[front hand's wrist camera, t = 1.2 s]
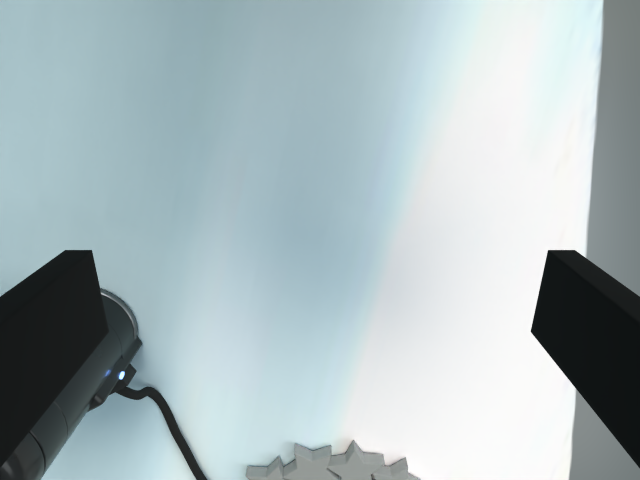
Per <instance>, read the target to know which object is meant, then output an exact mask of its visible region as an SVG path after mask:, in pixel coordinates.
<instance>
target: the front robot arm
mask: <svg viewBox="0 0 640 480" xmlns="http://www.w3.org/2000/svg"><path fill="white" fill-rule="evenodd" d="M108 333H109V328H108V324H107V319H106V314H105V310H104V305H103V300H102V296H101V291H100V286H99V281H98V277H97V272H96V267H95V263H94V258H93V253H92V250H65V251H63V252H62V253H61V254H59V255H58V256H56V257H55V258H54V259H52V260H51V261H49V262H48V263H47V264H45V265H44V266H43V267H41V268H40V269H38V270H37V271H36V272H34V273H33V274H31V275H30V276H29V277H27V278H26V279H24V280H23V281H22V282H20V283H19V284H17V285H16V286H15V287H13V288H12V289H10V290H9V291H8V292H6V293H5V294H3V295H2V296H1V297H0V468H1V467H2V465H3V464H4V463H5V462H6V460H7V459H8V458H9V457H10V455H11V454H12V453H13V452H14V450H15V449H16V448H17V447H18V445H19V444H20V443H21V442H22V440H23V439H24V438H25V437H26V435H27V434H28V433H29V432H30V430H31V429H32V428H33V427H34V425H35V424H36V423H37V422H38V420H39V419H40V418H41V417H42V415H43V414H44V413H45V412H46V410H47V409H48V408H49V407H50V405H51V404H52V403H53V401H54V400H55V399H56V398H57V396H58V395H59V394H60V393H61V391H62V390H63V389H64V388H65V386H66V385H67V384H68V383H69V381H70V380H71V379H72V378H73V376H74V375H75V374H76V373H77V371H78V370H79V369H80V368H81V366H82V365H83V364H84V363H85V361H86V360H87V359H88V358H89V356H90V355H91V354H92V353H93V351H94V350H95V349H96V348H97V346H98V345H99V344H100V343H101V341H102V340H103V339H104V338H105V336H106V335H107V334H108ZM531 333H532V334H533V335H534V336H535V338H536V339H537V340H538V341H539V343H540V344H541V345H542V346H543V348H544V349H545V350H546V351H547V353H548V354H549V355H550V356H551V358H552V359H553V360H554V361H555V363H556V364H557V365H558V366H559V368H560V369H561V370H562V371H563V373H564V374H565V375H566V376H567V378H568V379H569V380H570V381H571V383H572V384H573V385H574V386H575V388H576V389H577V390H578V391H579V393H580V394H581V395H582V396H583V398H584V399H585V400H586V401H587V403H588V404H589V405H590V406H591V408H592V409H593V410H594V412H595V413H596V414H597V415H598V417H599V418H600V419H601V420H602V422H603V423H604V424H605V425H606V427H607V428H608V429H609V430H610V432H611V433H612V434H613V435H614V437H615V438H616V439H617V440H618V442H619V443H620V444H621V445H622V447H623V448H624V449H625V450H626V452H627V453H628V454H629V455H630V457H631V458H632V459H633V460H634V462H635V463H636V464H637V465H638V467H639V468H640V297H639V296H638V295H637V294H635V293H634V292H632V291H631V290H630V289H628V288H627V287H625V286H624V285H623V284H621V283H620V282H618V281H617V280H616V279H614V278H613V277H611V276H610V275H609V274H607V273H606V272H604V271H603V270H602V269H600V268H599V267H597V266H596V265H595V264H593V263H592V262H591V261H589V260H588V259H586V258H585V257H584V256H582V255H581V254H579V253H578V252H577V251H575V250H548V253H547V258H546V263H545V267H544V272H543V277H542V281H541V286H540V291H539V296H538V300H537V305H536V310H535V314H534V319H533V324H532V328H531Z"/></svg>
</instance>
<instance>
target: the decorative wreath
mask: <svg viewBox="0 0 640 480" xmlns="http://www.w3.org/2000/svg"><path fill="white" fill-rule="evenodd" d="M295 459H296V460H294V461H293V462H291V463H289V464H288V465H286V466H285V467H283V465H282V462H281V459H280V457H279V456H278V457H277V458H276V459H275V460H274V461H273V462H272V463H271V464H270V465H269V466H268V467H253V466H247V471H246V477H247V478H248V479H249V480H373V478H372V474H373V476H374V478H375V479H374V480H421V479H419V478H417V477H415V476H412V475H410V474H408V465H407V461H406V457H405V458H403V459H402V460H400V461H398V462H397V463H395V464H393V465H392V466H390V467H388V466H384V464H385V462H384V456H383V454H372V453H363V452H362V451H361V449H360V448H359V447H358V445H357V444H356V442H355V441H354V440H353V442H352V443H351V445H350V447H349V449H348V450H347V452H346V454H342V455H336V456H331V445H330V446H327V447H324V448H321V449H318V450H315V451H311V450H309V449H306V448H304V447H302V446H300V445H298V444H296V443H295Z"/></svg>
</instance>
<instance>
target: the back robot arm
mask: <svg viewBox="0 0 640 480" xmlns="http://www.w3.org/2000/svg"><path fill="white" fill-rule="evenodd" d="M100 291H101V296H102V300H103V305H104V310H105V314H106V319H107V324H108V328H109V333H108V334H107V335H106V336H105V338H104V339H103V340H102V341H101V343H100V344H99V345H98V346H97V348H96V349H95V350H94V351H93V353H92V354H91V355H90V356H89V358H88V359H87V360H86V361H85V363H84V364H83V365H82V366H81V368H80V369H79V370H78V371H77V373H76V374H75V375H74V376H73V378H72V379H71V380H70V381H69V383H68V384H67V385H66V386H65V388H64V389H63V390H62V391H61V393H60V394H59V395H58V396H57V398H56V399H55V400H54V401H53V403H52V404H51V405H50V407H49V408H48V409H47V410H46V412H45V413H44V414H43V415H42V417H41V418H40V419H39V420H38V422H37V423H36V424H35V425H34V427H33V428H32V429H31V430H30V432H29V433H28V434H27V435H26V437H25V438H24V439H23V440H22V442H21V443H20V444H19V445H18V447H17V448H16V449H15V450H14V452H13V453H12V454H11V455H10V457H9V458H8V459H7V460H6V462H5V463H4V464H3V465H2V467H1V468H0V480H41V478H42V477H43V475H44V474H45V472H46V471H47V469H48V468H49V466H50V465H51V464H52V462H53V461H54V459H55V458H56V456H57V455H58V453H59V452H60V450H61V449H62V447H63V446H64V444H65V443H66V442H67V440H68V439H69V437H70V436H71V434H72V433H73V431H74V430H75V428H76V427H77V426H78V424H79V423H80V421H81V420H82V418H83V417H84V415H85V414H86V413H87V412H89V411H90V410H92V409H94V408H96V407H98V406H100V405H101V404H103V403H104V401H105V400H106V399H107V397H108V396H109V395H111V394H112V393H114V392H116V393H118V394H120V395H122V396H125V397H127V398H130V399H134V400H140V399H142V398H144V397H146V396H149V397H150V398H152V399H153V400H154V401H155V402H156V403H157V405H158V406H159V408H160V409H161V411H162V413H163V415H164V418H165V420H166V422H167V425H168V427H169V429H170V431H171V434H172V436H173V438H174V439H175V441H176V443H177V445H178V446H179V448H180V450H181V452H182V454H183V456H184V458H185V459H186V461H187V463H188V465H189V467H190V469H191V471H192V473H193V474H194V476H195V478H196V479H197V480H207V479H206V477H205V476H204V474H203V473H202V471H201V469H200V468H199V466H198V464H197V462H196V460H195V458H194V456H193V454H192V452H191V450H190V448H189V446H188V445H187V443H186V441H185V439H184V437H183V436H182V434H181V432H180V430H179V428H178V426H177V423H176V421H175V419H174V416H173V414H172V412H171V410H170V408H169V406H168V404H167V402H166V401H165V399H164V398H163V397H162V395H161V394H160V393H159V392H158V391H157V390H155V389H154V388H151V387H145V388H143V389H141V390H139V391H137V390H133V389H130V388H128V387H126V386H128V384H129V383H130V381H131V380H132V378H133V376H134V375H135V373H136V370H135V369H134V368H133V366H132V365H131V364H130V362H131V360H132V359H133V357H134V356H135V354H136V353H137V351H138V349H139V348H140V346H141V345H142V342H141V340H140V339H139V338H138V336H137V334H138V327H137V322H136V319H135V317H134V315H133V313H132V311H131V310H130V308H129V307H128V306H127V305H126V304H125V303H124V302H123V301H122V300H121V299H120V298H118V297H117V296H115V295H113V294H112V293H110V292H107V291H105V290H102V289H100Z"/></svg>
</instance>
